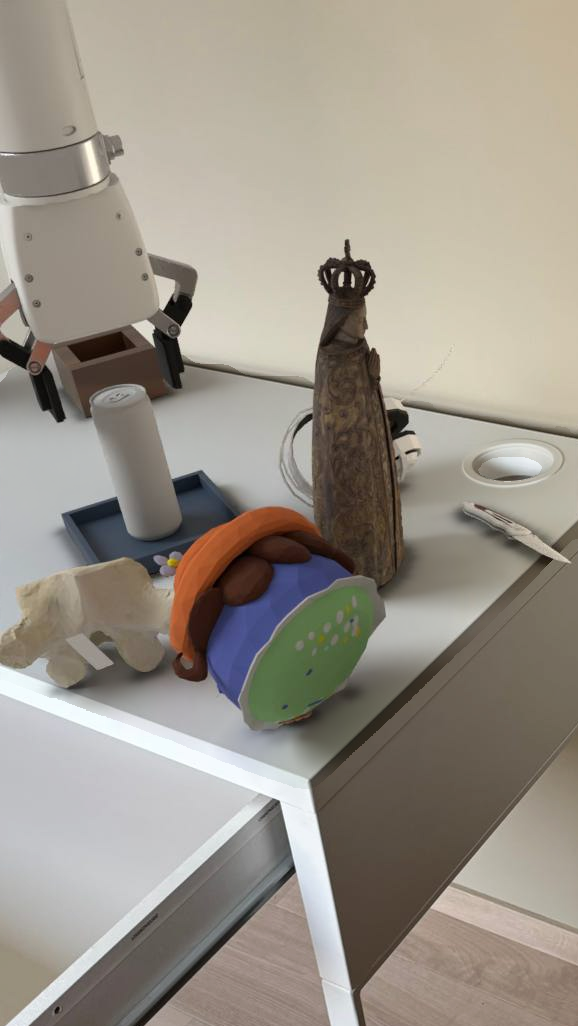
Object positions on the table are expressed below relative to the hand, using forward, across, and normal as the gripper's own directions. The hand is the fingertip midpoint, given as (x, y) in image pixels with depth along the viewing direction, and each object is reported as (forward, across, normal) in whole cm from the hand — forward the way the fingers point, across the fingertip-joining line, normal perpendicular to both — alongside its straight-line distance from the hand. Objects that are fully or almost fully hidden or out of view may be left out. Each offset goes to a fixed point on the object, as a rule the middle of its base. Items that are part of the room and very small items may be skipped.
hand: (116, 399), depth 96 cm
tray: (+12, 0, +1) cm, 12 cm away
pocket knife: (+11, -24, +20) cm, 33 cm away
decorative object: (+4, +11, +14) cm, 18 cm away
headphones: (+12, -21, +4) cm, 25 cm away
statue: (+12, -13, +18) cm, 25 cm away
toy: (+6, -2, +36) cm, 36 cm away
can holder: (+13, -6, -33) cm, 36 cm away
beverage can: (+12, 0, +1) cm, 12 cm away
